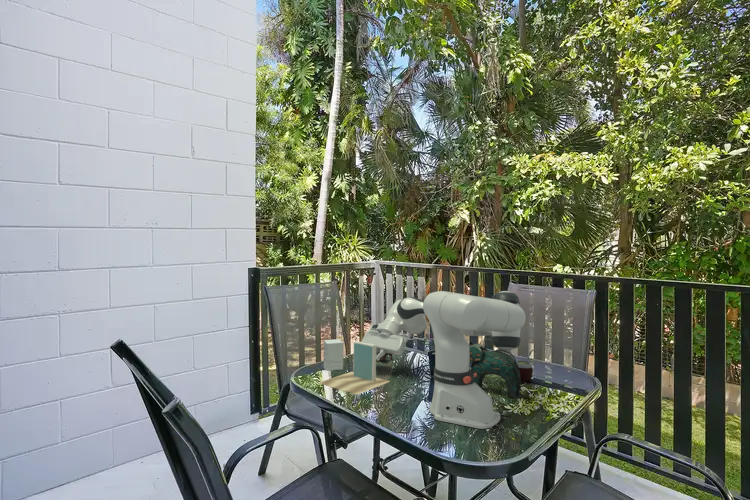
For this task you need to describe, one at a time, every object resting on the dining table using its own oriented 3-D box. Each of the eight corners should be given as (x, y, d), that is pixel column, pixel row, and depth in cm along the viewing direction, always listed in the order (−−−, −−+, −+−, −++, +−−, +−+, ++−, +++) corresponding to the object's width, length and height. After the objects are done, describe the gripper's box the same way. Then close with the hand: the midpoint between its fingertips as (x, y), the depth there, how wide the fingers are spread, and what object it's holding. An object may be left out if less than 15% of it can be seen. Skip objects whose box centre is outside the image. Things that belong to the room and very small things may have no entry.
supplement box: (339, 367, 189) (339, 338, 189) (343, 371, 182) (343, 342, 182) (323, 368, 187) (323, 339, 187) (326, 373, 180) (327, 343, 180)
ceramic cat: (465, 388, 163) (465, 337, 162) (472, 383, 168) (472, 333, 167) (517, 400, 151) (517, 345, 150) (523, 394, 156) (523, 340, 155)
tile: (375, 380, 168) (376, 345, 168) (372, 381, 166) (372, 345, 166) (356, 375, 174) (356, 341, 174) (353, 376, 172) (353, 342, 172)
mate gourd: (513, 378, 176) (513, 342, 176) (533, 380, 174) (533, 343, 174) (515, 384, 169) (515, 346, 169) (536, 386, 167) (536, 348, 167)
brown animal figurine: (368, 359, 205) (374, 343, 208) (385, 367, 207) (391, 351, 209) (374, 359, 194) (381, 342, 197) (392, 367, 195) (399, 350, 198)
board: (390, 383, 167) (390, 381, 167) (357, 397, 151) (357, 394, 151) (352, 373, 179) (352, 371, 179) (317, 385, 163) (317, 382, 163)
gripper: (412, 339, 178) (398, 368, 171) (374, 333, 191) (359, 359, 183) (406, 330, 175) (392, 359, 167) (368, 324, 187) (353, 350, 180)
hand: (375, 359), depth 175 cm, fingers closed
